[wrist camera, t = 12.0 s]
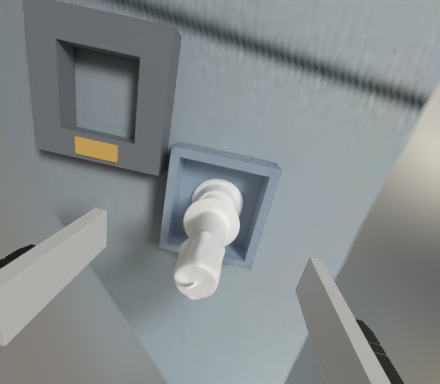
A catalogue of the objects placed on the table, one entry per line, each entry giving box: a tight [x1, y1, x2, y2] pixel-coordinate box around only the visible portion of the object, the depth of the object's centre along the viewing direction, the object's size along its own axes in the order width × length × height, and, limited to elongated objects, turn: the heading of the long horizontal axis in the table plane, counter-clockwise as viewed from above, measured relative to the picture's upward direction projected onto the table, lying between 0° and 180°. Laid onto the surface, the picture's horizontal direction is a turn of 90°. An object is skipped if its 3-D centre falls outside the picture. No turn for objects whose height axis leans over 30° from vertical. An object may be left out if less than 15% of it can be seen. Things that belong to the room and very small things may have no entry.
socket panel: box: [23, 0, 181, 176], centre depth 19 cm, size 12×12×2 cm
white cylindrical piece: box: [173, 179, 243, 300], centre depth 16 cm, size 5×5×12 cm
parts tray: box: [159, 142, 282, 270], centre depth 21 cm, size 11×10×3 cm
